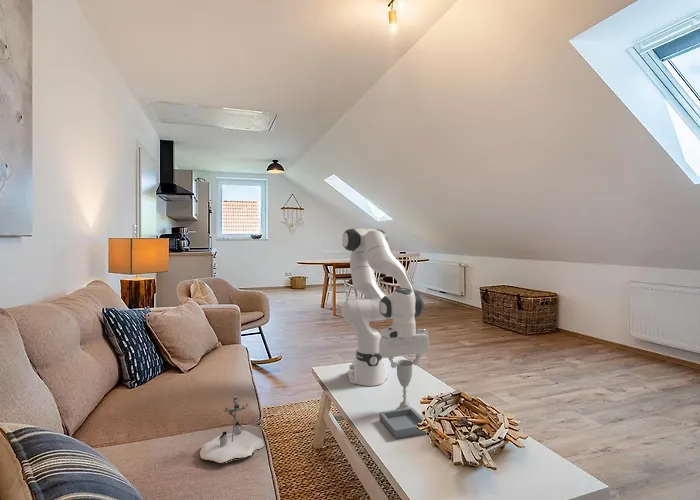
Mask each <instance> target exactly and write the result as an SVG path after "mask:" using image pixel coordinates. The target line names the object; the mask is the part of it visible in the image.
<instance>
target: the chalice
mask: <svg viewBox="0 0 700 500" xmlns="http://www.w3.org/2000/svg"><path fill="white" fill-rule="evenodd" d="M395 363H396V376H397V379H398V382H399V384H400V385H401V386H400V387H403V389H402V392H403V393H402V398H403V400H402V401H401V402H400V403H399V405H398V407H397V409H404V408H410V407H411V405H410V403H409V401H407V397H408V395H407V387H408V386H409V384H410V382H411V380H412V377H413V365H414V364H413V360H409V359H399V360H397V361H395Z"/></svg>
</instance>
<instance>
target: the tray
mask: <svg viewBox="0 0 700 500" xmlns="http://www.w3.org/2000/svg"><path fill="white" fill-rule="evenodd" d="M378 414H379V418H378V419H379V421H380V423H381V424H382V426H384V428H385V429H386V430H387V431H388V433H389V434H390V435H391V436H392V438H393V439H394V440H399V439H406V438H409V437H410V438H412V437H417V436H420V435H421V436H422V435H427V434H426V431H420V430H418V429H417V424H418V423H421V422H422V421H423V418H424V417H423V416H421V414H420V413H419V412H418V411H416V410H415V409H414V408H413V407H412V406H410V408H404V409H398V408H397V409H391V410H385V411H379V413H378Z"/></svg>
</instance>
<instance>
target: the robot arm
mask: <svg viewBox="0 0 700 500" xmlns="http://www.w3.org/2000/svg"><path fill="white" fill-rule="evenodd" d="M342 246H343V248H344V249H345V250H346V251H349V252H351V253H350V258H349V264H350V267H349V268H350V274H351V280H352V286H353V288H354V289H355V290H356V291H358V292H360V293H362V294H363V295H364V297H358V298H352V299H347V300H345V301H344V302H343V304H342V305H341V316H342V317H343V319H344V320H345V322H347V323H348V324H350V325H351V326H352V327H353V329H354V332H355V335H356V348H357V349H356V352H355V358H354V360H352V362H351V364H350V365H349V370H347V371H346V372H347V376H348V377H347V378H348V381H349V383H350V384H351V385H352V384H353V385H354V384H355V385H359V386H363V387H365V386H366V387H374V386H379V385H382V384H384V383H385V382H386V381H387V380H388V379H389V375H387V374H386V373H387V372H386V363H385V360H383V359H382V358H388V360H389V362H390V367H391V368H392V369H394V368H396V369H397V365H396V361H394V357H398V356H399V357H401V356H408V355H411V356H412V355H415V358H414V359H412V362H413V365H414V366H418V365H419V361H420V359H421V357H422V354H426V353H427V354H428V353H429V352H430V350H431V349H430V341H429V331H428V330H427V329H425V328H420V329H419V328H416V327H417V326H416V322H417V321H416V319H415V318H419V316H420V315H421V314H422V313H423V311H424V308H425V304H424V299H423V298H422V296H421V295H420V293H418V291H417V289H416V287H415V285H414V283H413V282H412V279H411V277H410V276H409V273H408V271H407V270H406V268H405V266H404V265H403V262H401V261H400V260H398V259H397V257H395V256H394V255H393V253H392V251H391V248H390V246H389V243H388V235H387V233H386V231H384V230H383V229H380V228H376V229H375V228H366V227H365V228H350V229H346V230H345V231H344V232H343V233H342ZM375 273H379V274H383V275H386V276H389V277H392V278H393V279H395V281H396V282H397V283H398V284H399V287H397V288H394V289H393V291H392V292H391V293H390V294H387V295H386V294H385V293H384V292H383V291H382V290H381V289H380V287H379V285H378V282H377V279H376V275H375ZM388 319H389V320H390V319H392V325H389V326H388V327H386V328H383V329H381V330H380V332H379V331H378V330H377V329H375V328H373V327H371V326H370V322H374V321H384V320H388Z"/></svg>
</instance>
